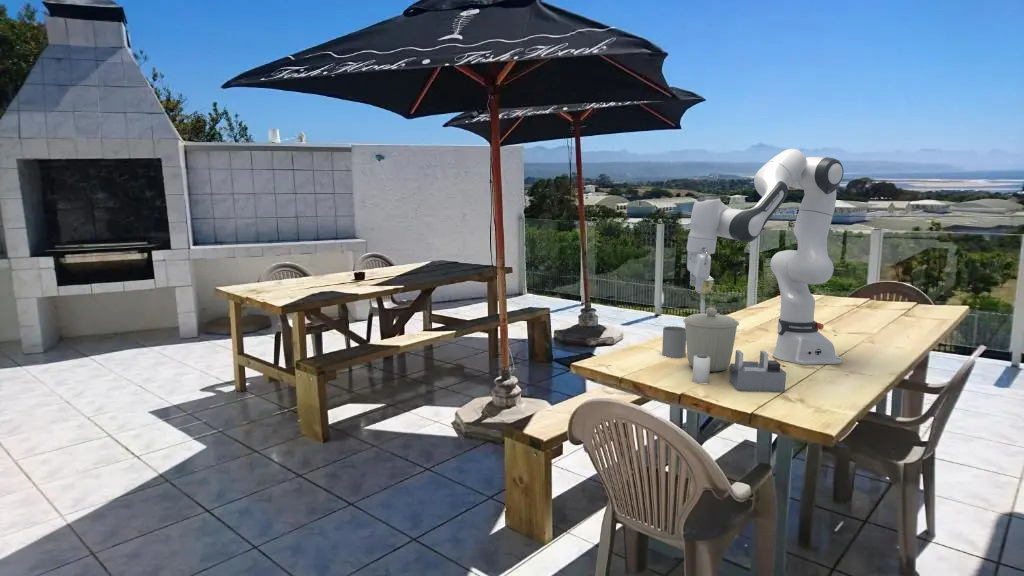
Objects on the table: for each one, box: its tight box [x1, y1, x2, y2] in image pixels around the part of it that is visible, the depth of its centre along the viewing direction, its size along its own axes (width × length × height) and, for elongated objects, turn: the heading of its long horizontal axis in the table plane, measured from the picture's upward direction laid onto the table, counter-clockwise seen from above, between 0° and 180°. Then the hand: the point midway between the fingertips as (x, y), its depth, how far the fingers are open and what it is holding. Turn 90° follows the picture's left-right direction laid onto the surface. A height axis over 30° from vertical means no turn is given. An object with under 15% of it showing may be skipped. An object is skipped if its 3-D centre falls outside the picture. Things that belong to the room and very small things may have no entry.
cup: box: [661, 325, 687, 359], centre depth 223 cm, size 8×8×10 cm
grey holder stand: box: [728, 349, 787, 393], centre depth 186 cm, size 14×9×11 cm, turn 85°
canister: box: [682, 306, 740, 373], centre depth 206 cm, size 18×18×21 cm
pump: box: [692, 353, 710, 384], centre depth 192 cm, size 5×5×9 cm
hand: (695, 288), depth 198 cm, fingers open, 8 cm apart
